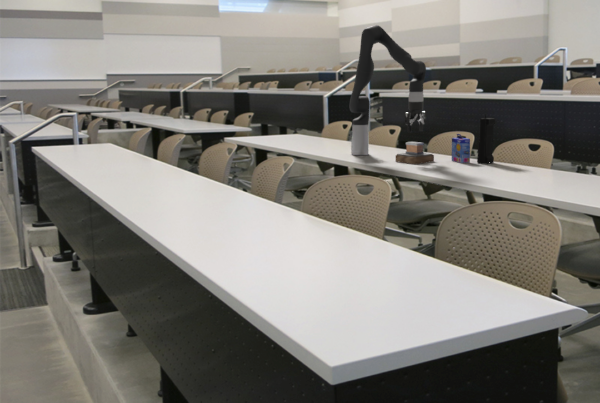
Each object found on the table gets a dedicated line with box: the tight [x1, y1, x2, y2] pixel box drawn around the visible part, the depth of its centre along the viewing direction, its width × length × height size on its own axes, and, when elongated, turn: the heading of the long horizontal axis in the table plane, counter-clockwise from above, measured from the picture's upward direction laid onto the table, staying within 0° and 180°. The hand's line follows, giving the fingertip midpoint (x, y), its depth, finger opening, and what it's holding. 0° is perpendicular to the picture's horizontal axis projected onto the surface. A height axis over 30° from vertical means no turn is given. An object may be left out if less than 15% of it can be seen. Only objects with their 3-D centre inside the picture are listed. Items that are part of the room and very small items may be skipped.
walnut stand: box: [395, 152, 435, 165], centre depth 336 cm, size 14×14×4 cm
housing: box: [405, 141, 425, 155], centre depth 335 cm, size 5×8×6 cm, turn 37°
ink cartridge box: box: [451, 133, 471, 164], centre depth 331 cm, size 10×6×14 cm, turn 17°
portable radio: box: [476, 113, 496, 164], centre depth 324 cm, size 8×6×25 cm
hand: (415, 132), depth 334 cm, fingers open, 8 cm apart
